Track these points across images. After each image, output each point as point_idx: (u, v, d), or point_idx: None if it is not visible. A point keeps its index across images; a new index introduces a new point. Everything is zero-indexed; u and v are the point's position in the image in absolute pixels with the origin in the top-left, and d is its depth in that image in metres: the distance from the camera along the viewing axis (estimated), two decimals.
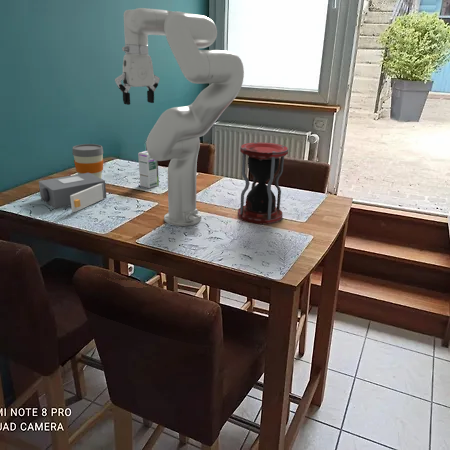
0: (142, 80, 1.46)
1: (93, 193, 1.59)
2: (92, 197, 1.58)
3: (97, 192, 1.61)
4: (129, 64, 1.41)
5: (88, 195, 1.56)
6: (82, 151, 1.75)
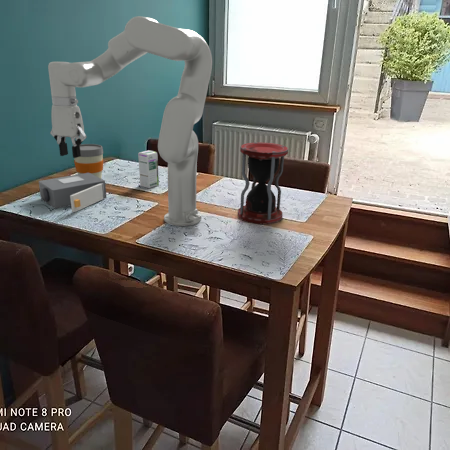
0: None
1: (93, 193, 1.59)
2: (92, 197, 1.58)
3: (97, 192, 1.61)
4: None
5: (88, 195, 1.56)
6: (82, 151, 1.75)
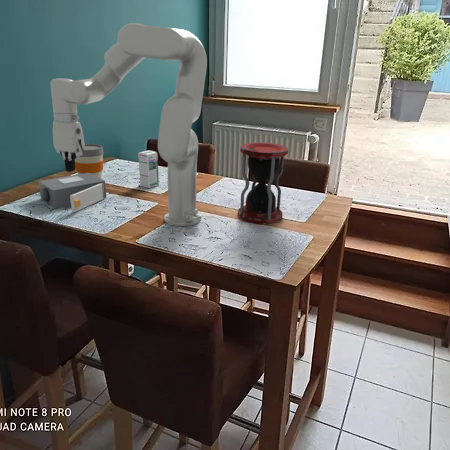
0: None
1: (93, 193, 1.59)
2: (92, 197, 1.58)
3: (97, 192, 1.61)
4: None
5: (88, 195, 1.56)
6: (82, 151, 1.75)
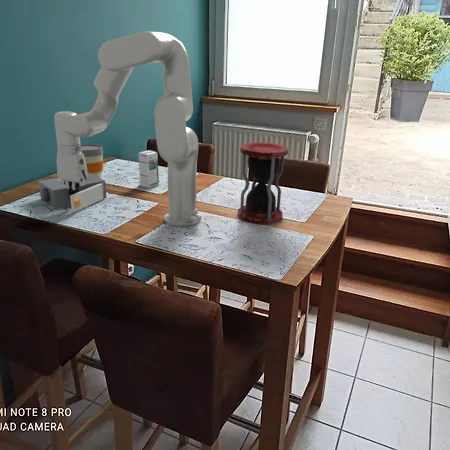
0: None
1: (93, 193, 1.59)
2: (92, 197, 1.58)
3: (97, 192, 1.61)
4: None
5: (88, 195, 1.56)
6: (82, 151, 1.75)
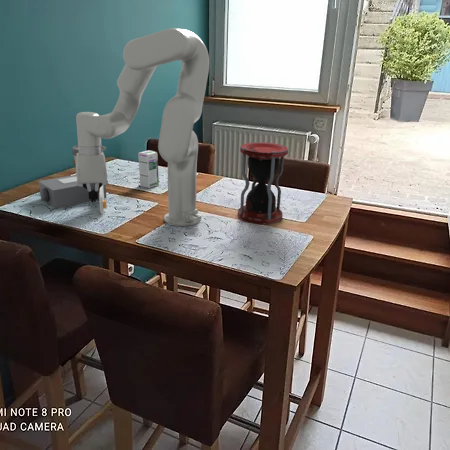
0: None
1: None
2: (103, 197, 1.58)
3: (103, 192, 1.61)
4: None
5: None
6: None
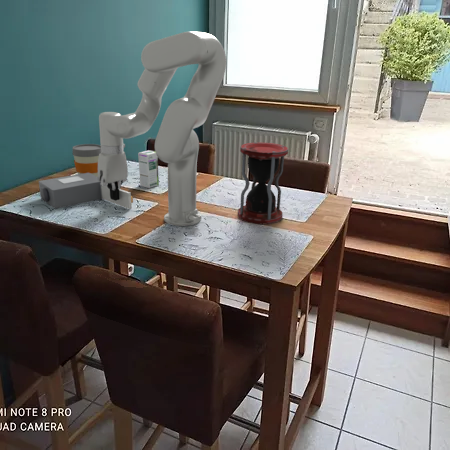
0: None
1: None
2: None
3: None
4: None
5: None
6: (82, 151, 1.75)
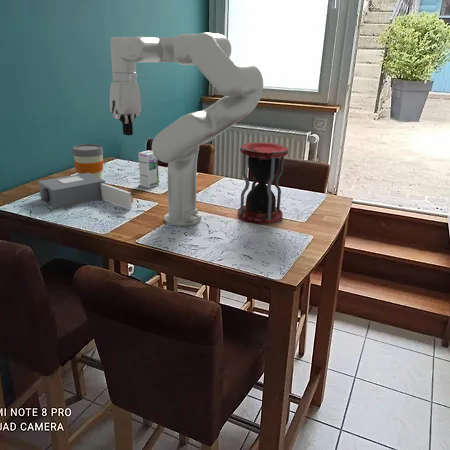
0: None
1: None
2: None
3: None
4: None
5: None
6: (82, 151, 1.75)
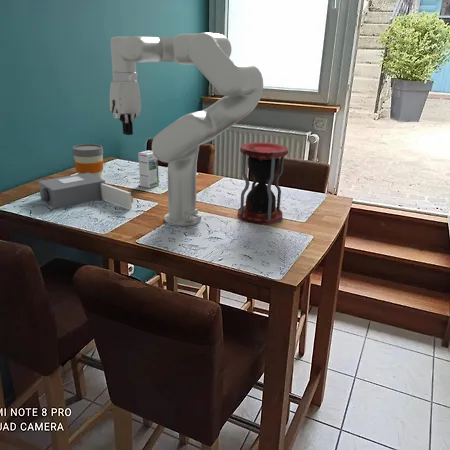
0: None
1: None
2: None
3: None
4: None
5: None
6: (82, 151, 1.75)
